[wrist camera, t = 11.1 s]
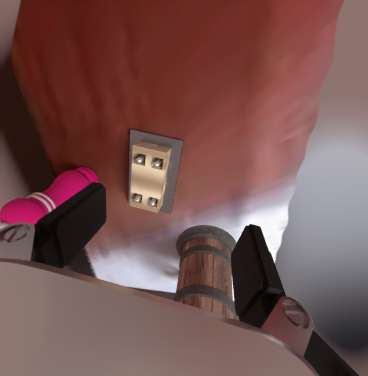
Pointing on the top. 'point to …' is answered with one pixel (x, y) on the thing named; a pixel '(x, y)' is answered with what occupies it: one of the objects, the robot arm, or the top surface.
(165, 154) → the tan rectangular block
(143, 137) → the chassis
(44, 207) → the pepper mill
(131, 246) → the top surface
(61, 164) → the top surface
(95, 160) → the top surface
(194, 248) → the tankard
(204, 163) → the top surface
